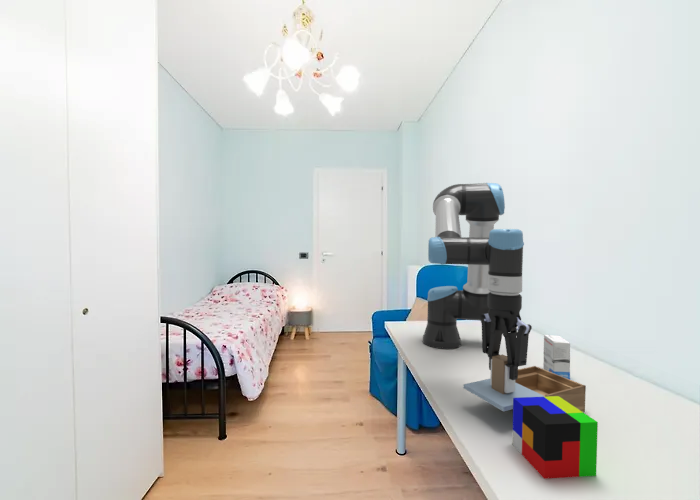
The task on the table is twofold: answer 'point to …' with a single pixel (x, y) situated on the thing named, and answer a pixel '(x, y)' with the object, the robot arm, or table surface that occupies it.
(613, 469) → the table surface
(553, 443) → the puzzle toy
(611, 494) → the table surface
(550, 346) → the ink box
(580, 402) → the oak box
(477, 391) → the cover plate
